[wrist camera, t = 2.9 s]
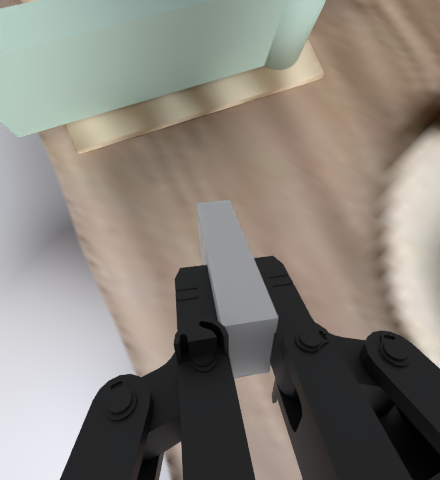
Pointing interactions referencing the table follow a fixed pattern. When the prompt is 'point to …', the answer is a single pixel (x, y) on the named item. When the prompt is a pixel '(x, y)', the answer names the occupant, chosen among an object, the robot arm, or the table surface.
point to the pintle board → (190, 102)
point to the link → (134, 51)
